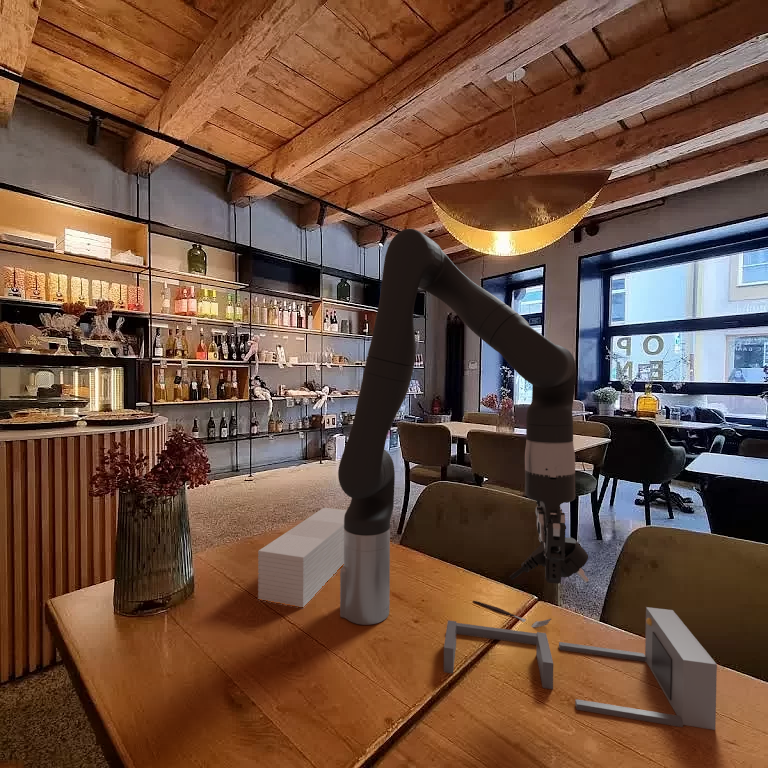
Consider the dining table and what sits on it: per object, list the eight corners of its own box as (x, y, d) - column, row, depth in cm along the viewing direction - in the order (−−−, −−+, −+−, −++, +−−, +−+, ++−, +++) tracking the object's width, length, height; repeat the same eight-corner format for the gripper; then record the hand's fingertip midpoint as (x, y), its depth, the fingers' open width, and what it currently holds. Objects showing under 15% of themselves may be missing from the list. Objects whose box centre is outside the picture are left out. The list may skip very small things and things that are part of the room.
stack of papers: (323, 545, 122) (323, 507, 122) (358, 550, 119) (359, 511, 119) (258, 601, 92) (258, 550, 92) (303, 609, 89) (303, 557, 89)
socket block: (576, 709, 62) (577, 647, 62) (558, 646, 77) (559, 595, 77) (717, 733, 58) (718, 666, 58) (670, 661, 73) (671, 608, 73)
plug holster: (443, 672, 70) (443, 647, 70) (449, 629, 82) (449, 608, 82) (552, 689, 66) (553, 663, 66) (542, 642, 78) (542, 620, 78)
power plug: (506, 566, 74) (562, 523, 72) (537, 603, 73) (595, 560, 71) (508, 582, 68) (569, 535, 66) (542, 621, 67) (605, 575, 65)
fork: (475, 600, 93) (475, 591, 93) (551, 628, 83) (551, 618, 83) (469, 605, 91) (470, 596, 91) (547, 634, 81) (547, 624, 81)
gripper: (521, 459, 77) (522, 554, 77) (529, 477, 63) (530, 593, 63) (566, 460, 76) (567, 557, 76) (584, 479, 62) (585, 598, 62)
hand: (550, 573), depth 70 cm, fingers closed on power plug, 5 cm apart
